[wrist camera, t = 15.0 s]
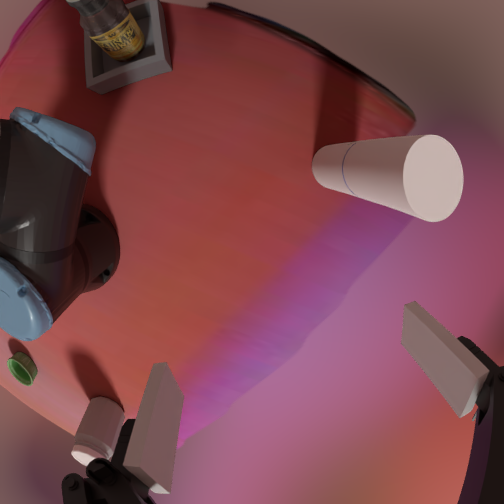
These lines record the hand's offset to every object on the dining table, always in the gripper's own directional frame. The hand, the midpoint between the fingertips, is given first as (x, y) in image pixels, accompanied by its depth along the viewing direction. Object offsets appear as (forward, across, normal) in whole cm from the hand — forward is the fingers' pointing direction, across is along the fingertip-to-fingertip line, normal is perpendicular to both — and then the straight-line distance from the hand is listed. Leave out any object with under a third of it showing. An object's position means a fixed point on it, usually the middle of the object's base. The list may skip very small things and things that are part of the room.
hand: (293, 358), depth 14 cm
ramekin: (+32, +65, +20) cm, 75 cm away
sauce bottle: (+31, +13, -34) cm, 48 cm away
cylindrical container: (+32, -15, -7) cm, 36 cm away
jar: (+32, +45, +36) cm, 65 cm away
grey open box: (+31, +13, -34) cm, 48 cm away
